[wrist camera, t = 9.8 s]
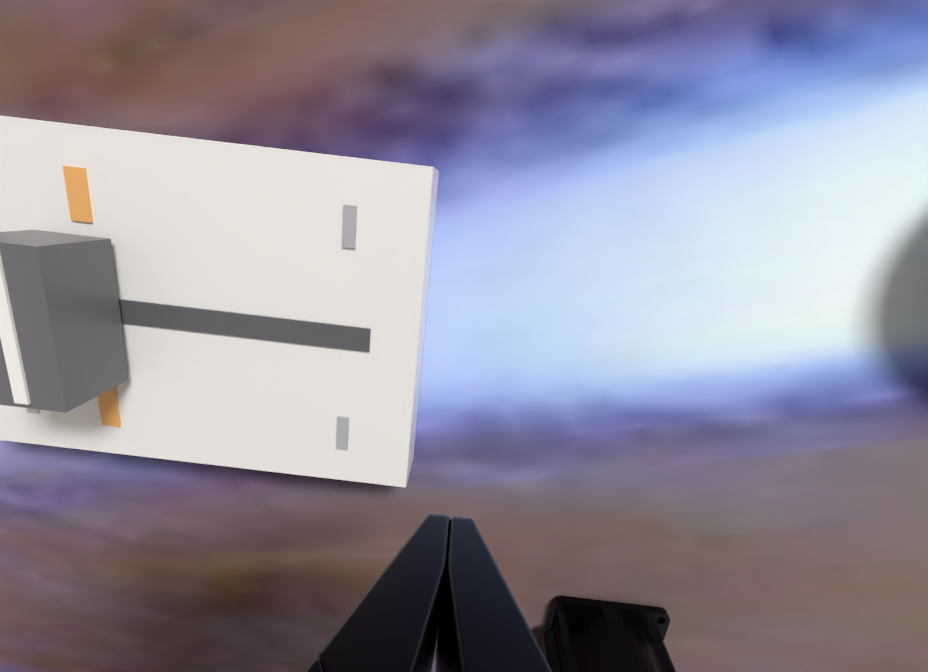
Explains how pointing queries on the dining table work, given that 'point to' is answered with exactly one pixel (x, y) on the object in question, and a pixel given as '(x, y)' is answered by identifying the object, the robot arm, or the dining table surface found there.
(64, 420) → the console
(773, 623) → the dining table surface
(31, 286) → the fader
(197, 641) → the dining table surface
